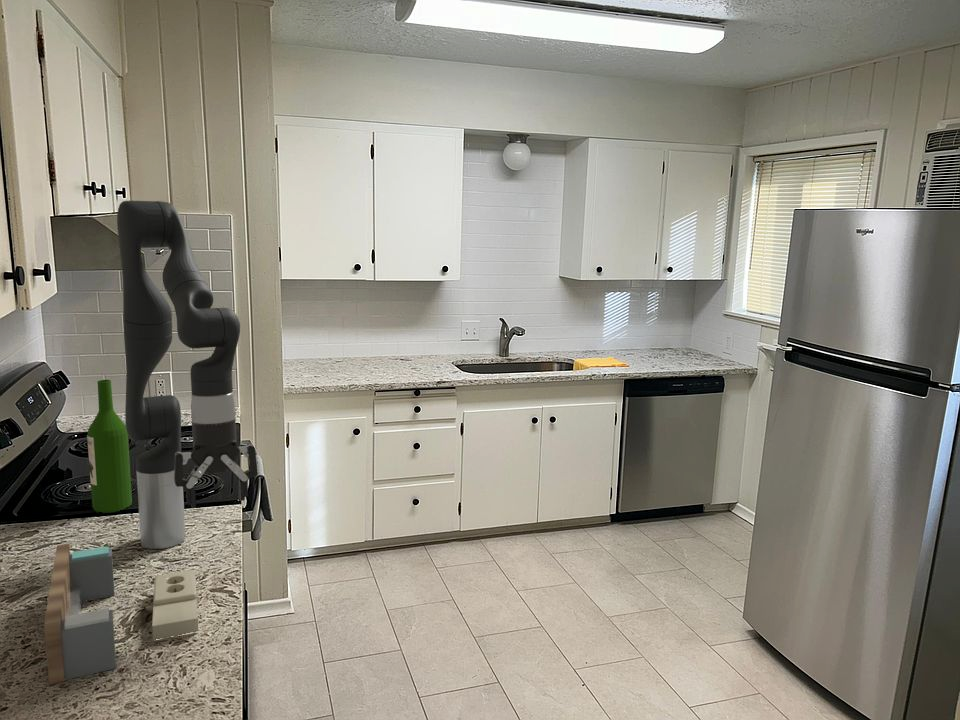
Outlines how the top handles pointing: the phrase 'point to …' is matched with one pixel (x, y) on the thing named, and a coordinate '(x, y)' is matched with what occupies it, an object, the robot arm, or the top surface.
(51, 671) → the mounting panel
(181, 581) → the electrical outlet
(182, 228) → the robot arm
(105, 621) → the block
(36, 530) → the top surface
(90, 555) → the module
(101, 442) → the wine bottle
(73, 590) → the metal rail
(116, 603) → the top surface
